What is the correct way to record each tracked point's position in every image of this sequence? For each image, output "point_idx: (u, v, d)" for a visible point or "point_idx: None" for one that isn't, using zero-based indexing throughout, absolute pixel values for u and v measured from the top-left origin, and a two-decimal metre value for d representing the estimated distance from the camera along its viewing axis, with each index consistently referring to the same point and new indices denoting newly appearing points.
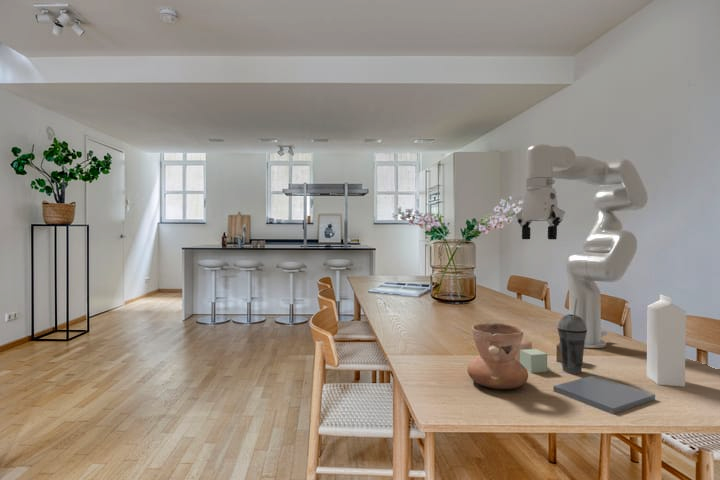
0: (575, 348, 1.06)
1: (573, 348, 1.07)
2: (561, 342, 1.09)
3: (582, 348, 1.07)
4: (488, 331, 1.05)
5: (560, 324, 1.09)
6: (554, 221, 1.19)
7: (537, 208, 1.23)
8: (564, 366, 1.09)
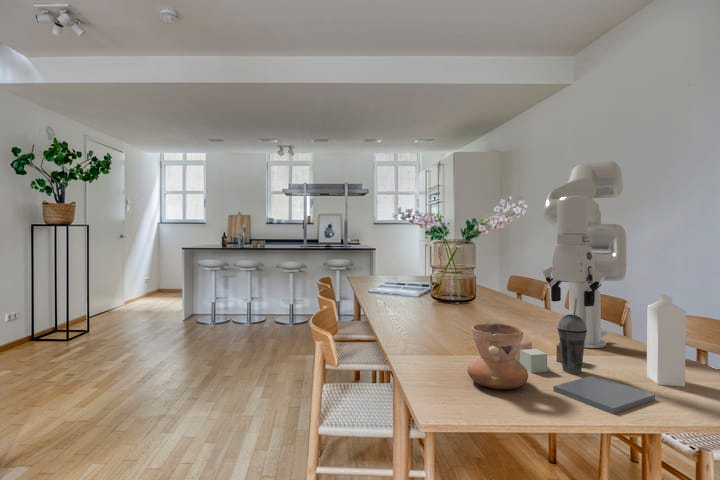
0: (575, 348, 1.06)
1: (573, 348, 1.07)
2: (561, 342, 1.09)
3: (582, 348, 1.07)
4: (488, 331, 1.05)
5: (560, 324, 1.09)
6: (592, 286, 1.03)
7: (571, 268, 1.06)
8: (564, 366, 1.09)
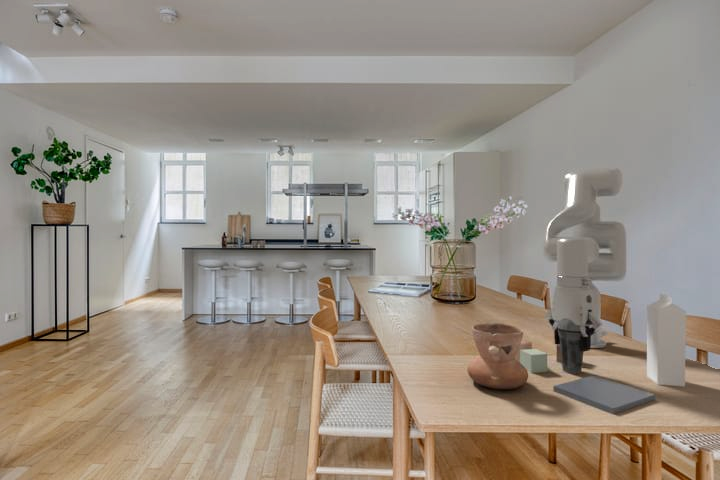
0: (575, 348, 1.06)
1: (573, 348, 1.07)
2: (561, 342, 1.09)
3: None
4: (488, 331, 1.05)
5: (560, 324, 1.09)
6: (588, 332, 1.04)
7: (571, 311, 1.07)
8: (564, 366, 1.09)
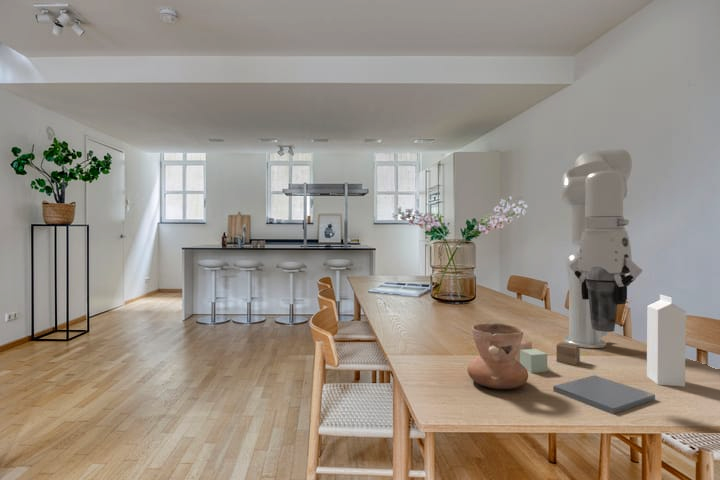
0: (608, 301, 0.90)
1: (605, 301, 0.90)
2: (590, 295, 0.93)
3: None
4: (488, 331, 1.05)
5: (589, 274, 0.92)
6: (624, 280, 0.88)
7: (603, 257, 0.90)
8: (594, 323, 0.92)
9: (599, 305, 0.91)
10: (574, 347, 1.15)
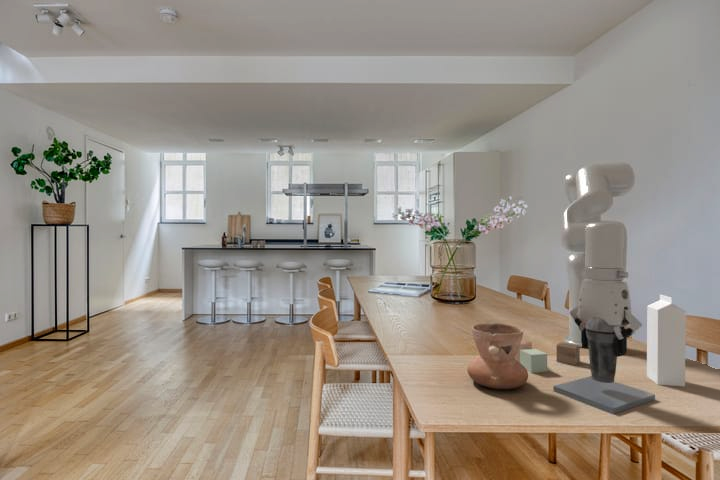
0: (608, 352, 0.90)
1: (605, 352, 0.90)
2: (590, 345, 0.93)
3: None
4: (488, 331, 1.05)
5: (589, 324, 0.92)
6: (624, 333, 0.88)
7: (603, 308, 0.90)
8: (594, 373, 0.92)
9: (599, 356, 0.91)
10: (574, 347, 1.15)
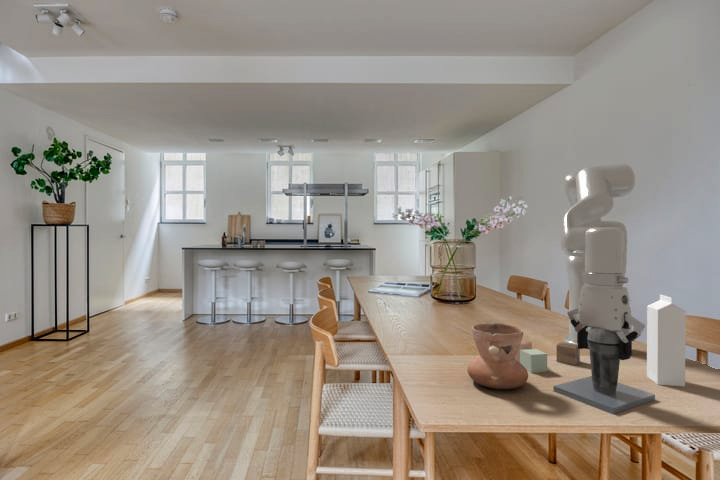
0: (610, 364, 0.89)
1: (607, 364, 0.90)
2: (592, 356, 0.92)
3: (618, 364, 0.90)
4: (488, 331, 1.05)
5: (591, 335, 0.92)
6: (629, 336, 0.87)
7: (603, 314, 0.90)
8: (596, 385, 0.92)
9: (601, 367, 0.90)
10: (574, 347, 1.15)
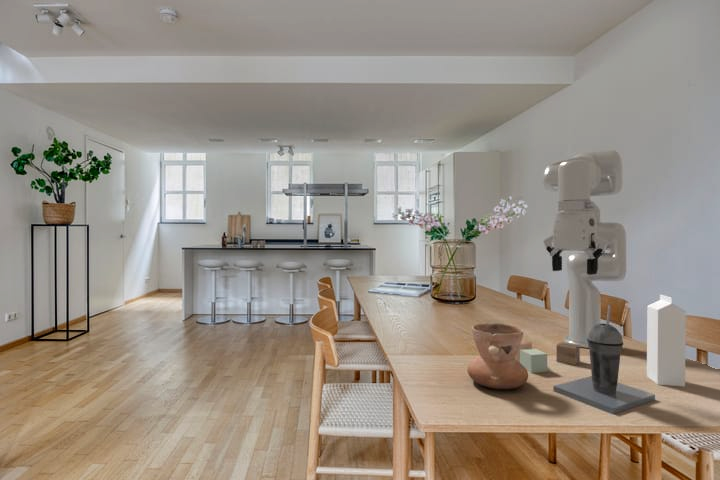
0: (610, 364, 0.89)
1: (607, 364, 0.90)
2: (592, 356, 0.92)
3: (618, 364, 0.90)
4: (488, 331, 1.05)
5: (591, 335, 0.92)
6: (595, 253, 0.99)
7: (573, 236, 1.03)
8: (596, 385, 0.92)
9: (601, 368, 0.90)
10: (574, 347, 1.15)
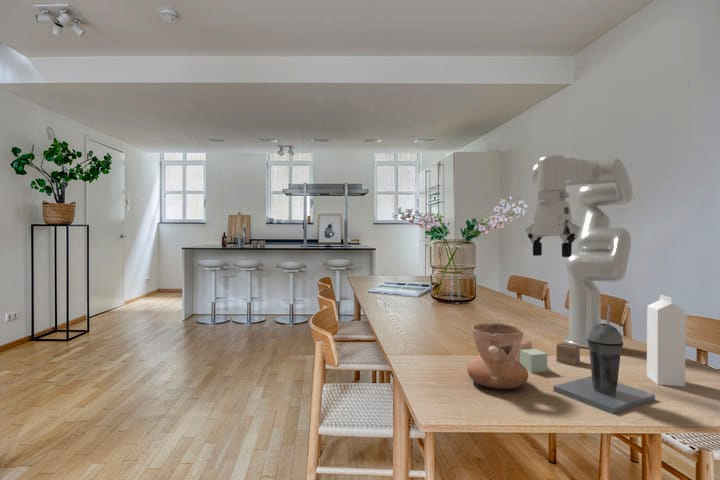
0: (610, 364, 0.89)
1: (607, 364, 0.90)
2: (592, 356, 0.92)
3: (618, 364, 0.90)
4: (488, 331, 1.05)
5: (591, 335, 0.92)
6: (569, 238, 1.11)
7: (550, 223, 1.15)
8: (596, 385, 0.92)
9: (601, 367, 0.90)
10: (574, 347, 1.15)
